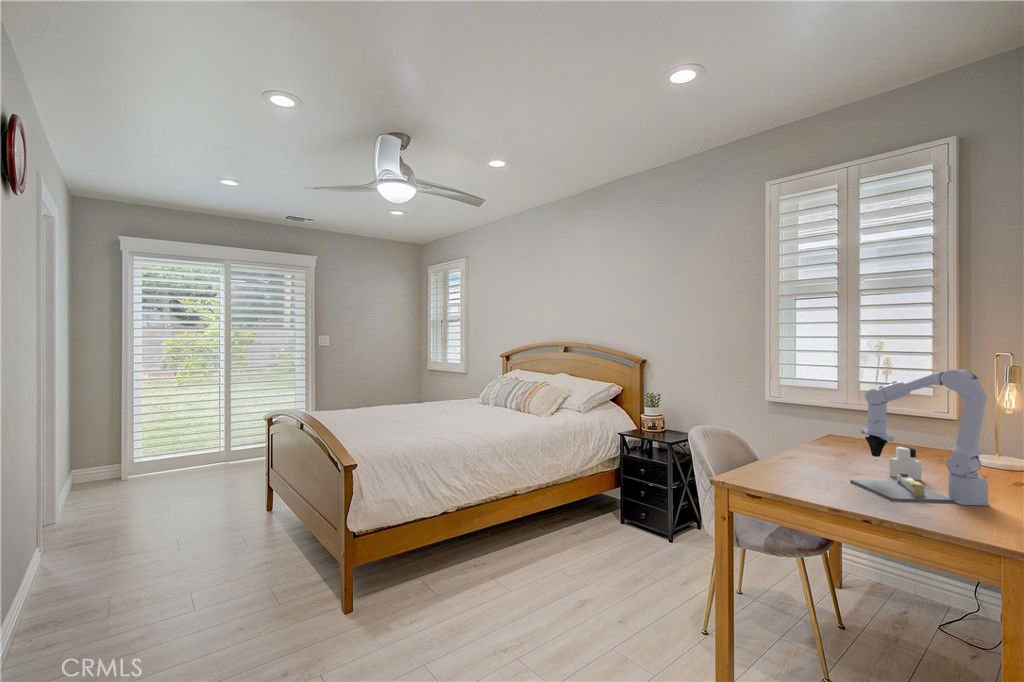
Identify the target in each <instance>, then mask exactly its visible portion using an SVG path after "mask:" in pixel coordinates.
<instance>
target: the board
mask: <svg viewBox="0 0 1024 682" xmlns="http://www.w3.org/2000/svg"><path fill="white" fill-rule="evenodd" d="M900 475H902V476H908V474H907V473H900ZM849 480H850V483H851V484H853V483H854V485H855V484H856V486H858V487H860V486H861V487H860V488H862V487H863V488H862V489H864V488H865V489H864V490H866V491H869V492H872V493H873V494H875V493H876V495H878V496H880V497H882V498H884V499H887V500H888V501H892V502H899V503H900V502H901V503H902V502H905V503H907V502H908V503H909V502H910V503H911V502H912V503H949V504H950V503H951V504H953V503H955V502H954V499H951V498H948V497H946V496H947V495H943V494H940V493H938V492H935V491H933V490H931V489H927V488H925V494H922V498H921V497H914V496H913V493H912V492H911V491H910V490H909V489H907V488H906V487H905V486H903V485H902V484H901V483H898V482H897V480H890V479H886V480H885V479H884V480H882V479H881V480H880V479H849Z"/></svg>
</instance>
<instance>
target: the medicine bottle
mask: <svg viewBox="0 0 1024 682" xmlns="http://www.w3.org/2000/svg"><path fill="white" fill-rule="evenodd" d="M922 464H923V463H922V461H921V460H917V449H915V448H914V447H911V446H910V447H909V446H902V445H901V446H897V447H896V448H895V457H891V458H890V459H889V476H890V477H891V478H895V479H897V475H900V473H907V474H908V476H910V477H911V478H912V479H913V480H915V481H921V480H922V468H923V467H922Z"/></svg>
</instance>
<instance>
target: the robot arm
mask: <svg viewBox="0 0 1024 682" xmlns="http://www.w3.org/2000/svg"><path fill="white" fill-rule="evenodd" d="M934 385H935V386H945V388H947V389H949V390H952V391H954V392H955V393H957V394H958V395H959V396H960V397H962V399H963V400H964V401H963V407H962V412H961V417H960V422H959V427H958V433H957V440H956V445H955V446H954V448H953V449H952V451H951V454H950V456H949V458H947V459H946V463H945V466H946V468H947V470H948V490H947V491H948V493H947V495H945V496H946V497H948V498H951V499H954V503H956V504H958V505H960V506H961V505H962V506H990V505H991V504H990V503H989V484H988V482H987V480H986V479H985V478H984V477H983V476H981V475H979V474H978V471H980V470H981V467H982V461H981V460H980V451H979V449H978V445H979V441H980V435H981V430H982V425H983V424H982V423H983V420H984V414H985V409H986V403H987V398H988V396H987V394H986V391H985V389H984V388H983V386H982V384H981V382H980V377H979V376H977V375H976V374H975V373H973V372H972V371H971V370H968V369H966V368H965V369H964V368H960V369H948V370H946V371H938V372H935V373H934V372H933V373H931V374H928V375H925V376H922V377H920V378H916V379H913V380H911V381H908V382H904V381H901V380H900V381H898V380H893V381H892V382H891V383H890V384H887V385H884V386H883V385H880V386H878V388H876V389H875V388H871V389H869V390H868V391H866V393H865V394H864V397H865V400H866V402H867V424H866V425H867V428H860V434H862V435H864V434H865V435H867V436H865V441H866V442H867V444H868V446H869V450H870V453H871V456H872V457H874V458H875V457H876V458H880V457H881V455H882V452H883V450H884V447H885V446H886V445H887V443H888V442H894V439H895V438H894V437H895V436H894V435H891V434H889V433H887V411H888V409H887V407H888V406H887V404H888V403H889V402H892V401H893V402H894V401H895V400H899V399H902V398H905V397H906V398H907V397H909V396H910V394H911V392H912V391H916V390H920V389H924V388H927V387H932V386H934Z"/></svg>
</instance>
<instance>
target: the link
mask: <svg viewBox="0 0 1024 682" xmlns="http://www.w3.org/2000/svg"><path fill="white" fill-rule="evenodd" d="M907 480H908V481H916V480H913V479H912V478H911V477H910V476H902V475H897V478H896V481H897V482H898V483H901V484H902V485H903V486H905V487H906V488H907V489H909V490H910V491H911V492H912V493H913V487H911V486H910V485H909V484H908V483H907ZM925 489H926V488H925V486H924V488H922V494H925Z"/></svg>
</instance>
